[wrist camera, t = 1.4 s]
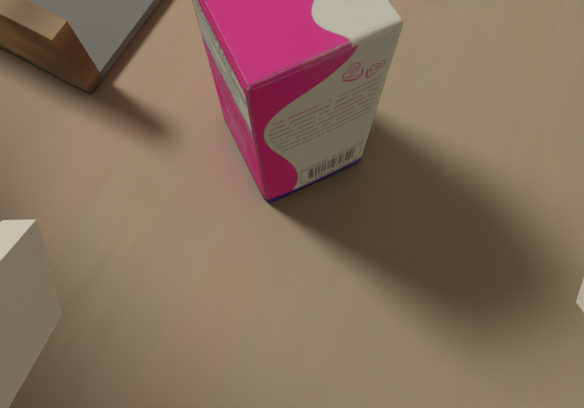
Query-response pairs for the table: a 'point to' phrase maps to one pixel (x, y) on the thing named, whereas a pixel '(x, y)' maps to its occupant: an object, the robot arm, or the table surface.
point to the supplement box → (298, 81)
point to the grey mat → (99, 27)
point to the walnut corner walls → (46, 42)
